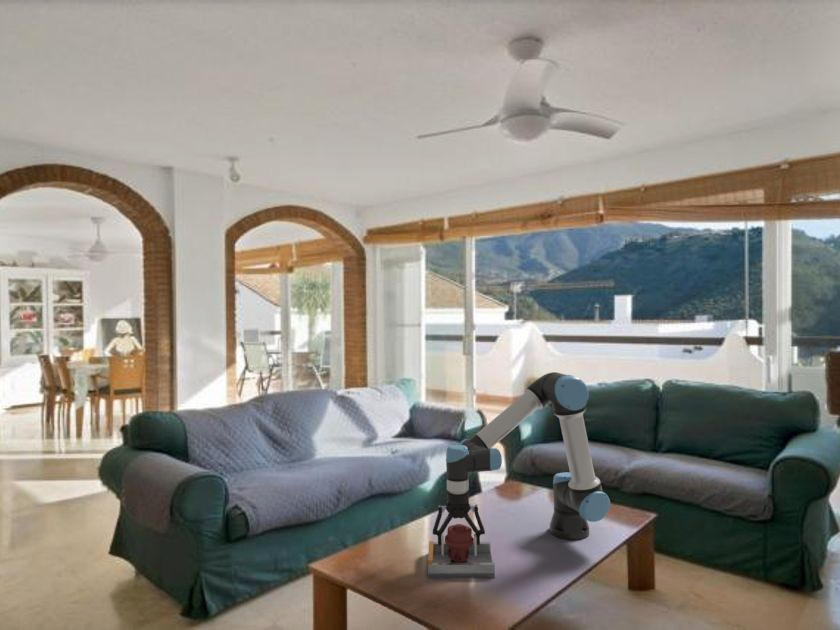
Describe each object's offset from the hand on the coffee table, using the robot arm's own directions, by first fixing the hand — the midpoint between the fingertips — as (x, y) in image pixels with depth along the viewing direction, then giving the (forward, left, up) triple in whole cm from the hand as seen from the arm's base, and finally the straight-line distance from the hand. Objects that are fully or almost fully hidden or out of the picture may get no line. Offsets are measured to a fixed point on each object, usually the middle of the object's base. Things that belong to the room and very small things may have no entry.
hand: (459, 553), depth 198 cm
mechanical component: (0, 0, -3) cm, 3 cm away
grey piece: (0, 0, -4) cm, 4 cm away
